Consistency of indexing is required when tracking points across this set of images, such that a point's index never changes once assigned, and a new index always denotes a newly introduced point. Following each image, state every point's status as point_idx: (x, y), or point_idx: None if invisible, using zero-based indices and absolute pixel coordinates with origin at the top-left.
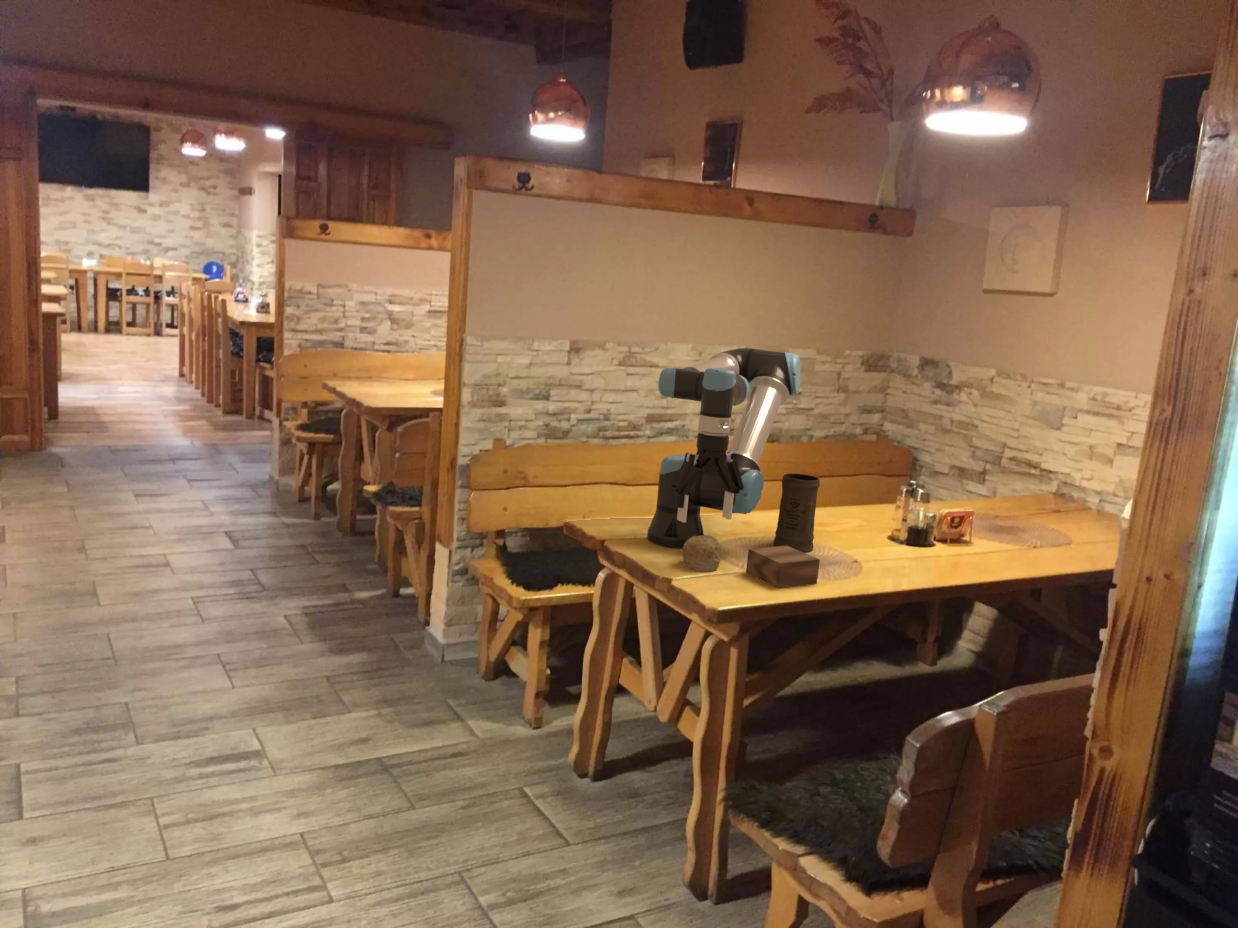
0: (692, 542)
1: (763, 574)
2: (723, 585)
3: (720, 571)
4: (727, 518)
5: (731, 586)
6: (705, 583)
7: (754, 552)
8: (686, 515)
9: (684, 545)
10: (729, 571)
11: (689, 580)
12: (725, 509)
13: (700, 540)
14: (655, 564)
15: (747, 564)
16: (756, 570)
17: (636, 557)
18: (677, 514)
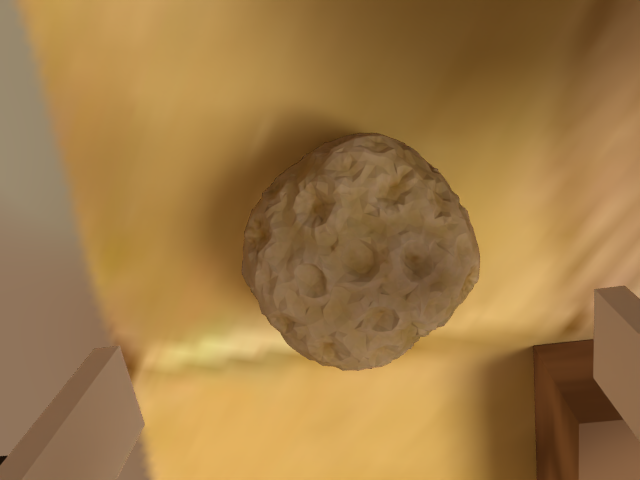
0: (264, 312)
1: (546, 466)
2: (327, 462)
3: None
4: (595, 362)
5: (354, 476)
6: (262, 432)
7: (577, 463)
8: (121, 465)
9: (245, 239)
10: (463, 315)
11: (208, 392)
12: (633, 367)
13: (306, 343)
14: (126, 163)
15: (548, 373)
16: (545, 428)
17: (53, 25)
18: (74, 373)
